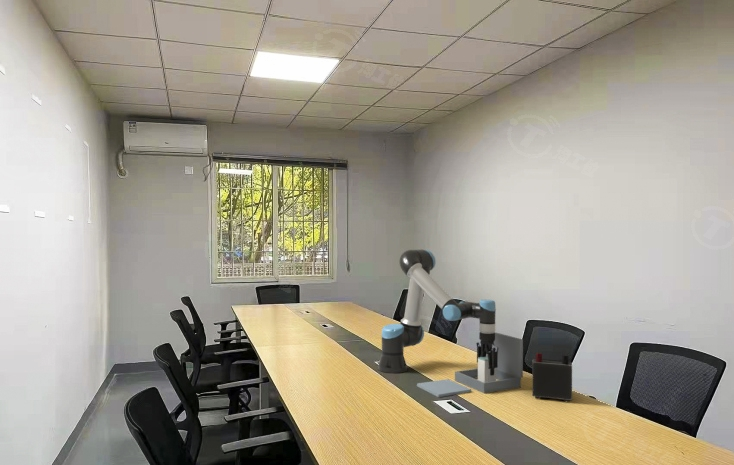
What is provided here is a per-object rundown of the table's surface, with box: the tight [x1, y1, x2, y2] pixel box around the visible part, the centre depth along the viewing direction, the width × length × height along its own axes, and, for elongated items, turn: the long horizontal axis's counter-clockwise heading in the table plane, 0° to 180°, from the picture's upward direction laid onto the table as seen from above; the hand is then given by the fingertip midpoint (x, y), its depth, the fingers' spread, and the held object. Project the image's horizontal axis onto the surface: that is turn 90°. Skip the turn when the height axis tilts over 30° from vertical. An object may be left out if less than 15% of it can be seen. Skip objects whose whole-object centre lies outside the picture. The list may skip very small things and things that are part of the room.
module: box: [477, 356, 497, 382], centre depth 239 cm, size 5×7×12 cm
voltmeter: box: [532, 352, 573, 403], centre depth 222 cm, size 16×16×20 cm
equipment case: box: [454, 331, 524, 394], centre depth 240 cm, size 23×23×22 cm
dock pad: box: [416, 378, 472, 398], centre depth 230 cm, size 18×18×1 cm
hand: (486, 380), depth 239 cm, fingers closed on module, 5 cm apart
